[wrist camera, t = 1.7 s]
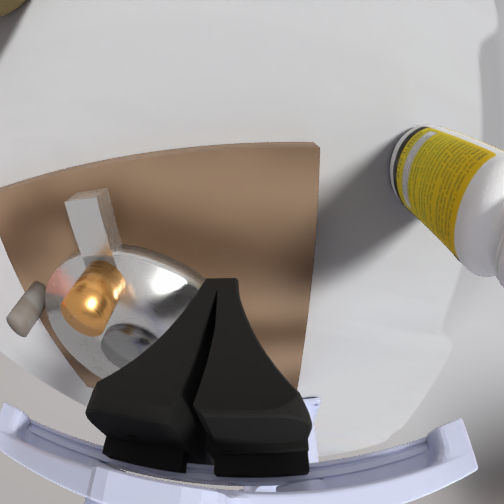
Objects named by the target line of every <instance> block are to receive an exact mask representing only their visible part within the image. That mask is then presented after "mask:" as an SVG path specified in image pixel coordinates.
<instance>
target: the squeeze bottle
mask: <svg viewBox="0 0 504 504" xmlns="http://www.w3.org/2000/svg"><path fill="white" fill-rule="evenodd" d="M25 1H26V0H0V17H1V16H4V15H7V14H10V13H11V12H13V11H14V10H16V9H17V8H19V7H20V6H21V5H22V4H23V3H24V2H25Z"/></svg>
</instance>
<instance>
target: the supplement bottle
mask: <svg viewBox="0 0 504 504" xmlns="http://www.w3.org/2000/svg"><path fill="white" fill-rule="evenodd" d="M390 178H391V183H392V187H393V190H394V192H395V194H396V196H397V197H398V199H399V200H400V201H401V202H402V204H403V205H404V206H405V207H406V208H407V209H408V210H410V211H411V212H412V213H413V214H414V215H415V216H416V217H417V218H418V219H419V220H420V221H421V222H422V223H423V224H424V225H425V226H426V227H428V228H429V229H430V230H431V232H432V233H434V234H435V235H436V236H437V238H438V239H439V240H441V242H442V243H443V244H444V245H445V246H446V247H447V248H448V249H449V250H450V251H451V252H452V253H453V254H454V256H455V257H456V258H457V259H458V260H459V261H460V262H461V263H462V264H463V265H464V266H465V267H466V268H467V269H468V270H469V271H471V272H472V273H474V274H476V275H478V276H483V277H491V276H496V277H497V279H498V280H499V282H500V284H501V285H502V286H503V287H504V151H502V150H500V149H498V148H496V147H493V146H491V145H489V144H486V143H484V142H481V141H479V140H476V139H473V138H471V137H468V136H466V135H463V134H460V133H457V132H455V131H452V130H449V129H446V128H443V127H440V126H435V125H430V124H425V125H419V126H416V127H414V128H412V129H411V130H409V131H408V132H406V133H405V134H404V135H403V136H402V137H401V139H400V140H399V141H398V143H397V145H396V146H395V149H394V151H393V154H392V158H391V163H390Z"/></svg>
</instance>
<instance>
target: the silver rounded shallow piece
mask: <svg viewBox="0 0 504 504" xmlns="http://www.w3.org/2000/svg"><path fill="white" fill-rule="evenodd" d="M64 203H65V206H66V210H67V213H68V216H69V220H70V223H71V226H72V229H73V232H74V235H75V238H76V241H77V244H78V247H79V250H78V251H76V252H74V253H72V254H71V255H70V256H69V257H68V258H66V259H65V260H64V262H63V263H62V264H61V265H60V266H59V267H58V269H57V270H56V271H55V272H54V274H53V275H52V276H51V278H50V280H49V282H48V284H47V288H46V293H45V305H46V311H47V315H48V318H49V321H50V323H51V326H52V328H53V330H54V332H55V333H56V335H57V337H58V338H59V340H60V341H61V343H62V344H63V345H64V347H65V348H66V349H67V350H68V351H69V353H70V354H71V355H72V356H73V357H74V358H75V359H76V360H77V361H79V362H80V363H81V364H82V365H83V366H84V367H86V368H87V369H88V370H90V371H91V372H92V373H94V374H95V375H97V376H99V377H100V378H102V379H104V378H105V377H107V376H109V375H111V374H112V373H114V372H116V371H118V370H119V369H121V368H122V367H124V366H125V365H127V364H128V363H130V362H131V361H133V360H134V359H135V358H137V357H138V356H139V355H141V354H142V353H143V352H144V351H145V350H147V349H148V348H149V347H150V346H151V345H152V344H153V343H155V342H156V341H157V340H158V339H159V338H160V337H161V336H162V335H163V334H164V333H165V332H166V331H167V330H168V329H169V328H170V326H171V325H172V324H173V323H174V322H175V321H176V319H177V318H178V317H179V316H180V315H181V313H182V312H183V311H184V310H185V308H186V307H187V305H188V304H189V303H190V301H191V300H192V299H193V297H194V296H195V294H196V293H197V291H198V290H199V288H200V287H201V285H202V284H203V282H204V281H205V280H206V278H205V277H203V276H202V275H201V274H200V273H198V272H196V271H195V270H193V269H192V268H190V267H188V266H187V265H185V264H183V263H181V262H179V261H177V260H175V259H173V258H171V257H169V256H167V255H164V254H162V253H159V252H156V251H154V250H151V249H147V248H143V247H139V246H135V245H128V244H122V242H121V238H120V235H119V231H118V228H117V224H116V220H115V216H114V212H113V208H112V204H111V200H110V195H109V191H108V188H105V189H98V190H92V191H86V192H80V193H76V194H75V195H73V196H72V197H71V198H69V199H68V200H67V201H65V202H64Z"/></svg>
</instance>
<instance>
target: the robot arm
mask: <svg viewBox="0 0 504 504" xmlns="http://www.w3.org/2000/svg"><path fill="white" fill-rule="evenodd" d="M320 403H321V399H320V398H310V399H302V397H301V395H300V393H299V392H298V391H297V390H296V389H295V388H294V387H293V386H292V385H291V384H290V382H289V381H288V380H287V379H286V378H285V377H284V376H283V375H282V373H281V372H280V371H279V370H278V369H277V367H276V366H275V365H274V363H273V362H272V360H271V359H270V358H269V356H268V355H267V354H266V352H265V351H264V349H263V347H262V346H261V344H260V342H259V341H258V339H257V337H256V335H255V333H254V332H253V330H252V328H251V325H250V323H249V321H248V319H247V316H246V314H245V311H244V308H243V306H242V303H241V299H240V294H239V283H238V279H236V278H207V279H206V280H205V281H204V282H203V284H202V285H201V287H200V288H199V290H198V291H197V293H196V294H195V296H194V297H193V299H192V300H191V301H190V303H189V304H188V305H187V307H186V308H185V310H184V311H183V312H182V313H181V315H180V316H179V317H178V318H177V319H176V321H175V322H174V323H173V324H172V325H171V326H170V328H169V329H168V330H167V331H166V332H165V333H164V334H163V335H162V336H161V337H160V338H159V339H158V340H157V341H156V342H155V343H153V344H152V345H151V346H150V347H149V348H148V349H147V350H145V351H144V352H143V353H142V354H141V355H139V356H138V357H137V358H135V359H134V360H133V361H131V362H130V363H128V364H127V365H125V366H124V367H122V368H121V369H119V370H118V371H116V372H114V373H112V374H111V375H109V376H107V377H105V378H104V379H102V380H100V381H98V382H97V383H96V385H95V388H94V390H93V392H92V395H91V398H90V401H89V404H88V406H87V409H86V412H85V413H86V416H87V418H88V419H89V420H90V422H91V423H92V424H94V425H95V426H96V427H97V428H98V429H99V430H100V431H101V432H102V433H104V434H105V435H106V440H105V443H104V446H101V445H97V444H94V443H91V442H87V441H84V440H81V439H78V438H76V437H73V436H70V435H67V434H64V433H61V432H59V431H57V430H54V429H52V428H49V427H47V426H44V425H42V424H40V423H38V422H36V421H33V420H31V419H30V418H29V417H28V416H27V415H26V414H25V413H24V412H22V411H21V410H20V409H18V408H16V407H14V406H12V405H10V404H8V403H6V402H4V404H3V407H2V409H1V411H0V451H2V452H3V453H4V454H6V455H7V456H9V457H11V458H12V459H14V460H15V461H17V462H18V463H20V464H21V465H23V466H25V467H26V468H28V469H30V470H31V471H33V472H35V473H36V474H38V475H40V476H42V477H44V478H46V479H48V480H50V481H52V482H54V483H56V484H57V485H59V486H62V487H64V488H66V489H68V490H70V491H72V492H75V493H77V494H79V495H82V496H84V497H86V498H85V503H84V504H405V503H408V502H411V501H413V500H416V499H418V498H421V497H423V496H425V495H428V494H430V493H433V492H435V491H437V490H440V489H441V488H444V487H446V486H448V485H450V484H452V483H454V482H456V481H458V480H460V479H462V478H464V477H466V476H467V475H469V474H471V473H473V472H475V471H476V470H477V469H478V466H477V463H476V459H475V456H474V452H473V449H472V446H471V443H470V440H469V437H468V434H467V431H466V428H465V426H464V423H463V420H462V419H461V418H459V419H457V420H454V421H452V422H450V423H447V424H445V425H442V426H440V427H438V428H436V429H434V430H432V431H431V432H430V433H429V434H428V435H427V436H426V437H424V438H422V439H419V440H416V441H412V442H409V443H406V444H403V445H400V446H396V447H392V448H389V449H385V450H381V451H377V452H373V453H368V454H364V455H359V456H354V457H349V458H343V459H337V460H331V461H324V462H319V459H318V450H317V441H316V433H315V425H314V420H315V417H316V415H317V412H318V409H319V406H320ZM118 468H119V469H118ZM120 469H123V470H126V471H131V472H135V473H139V474H143V475H148V476H153V477H159V478H164V479H170V480H176V481H184V482H191V483H201V484H212V485H227V486H244V490H243V489H241V490H239V491H234V490H223V489H213V488H206V487H201V486H194V485H187V484H181V483H174V482H168V481H162V480H157V479H151V478H147V477H142V476H138V475H134V474H130V473H126V472H125V471H123V470H120Z"/></svg>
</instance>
